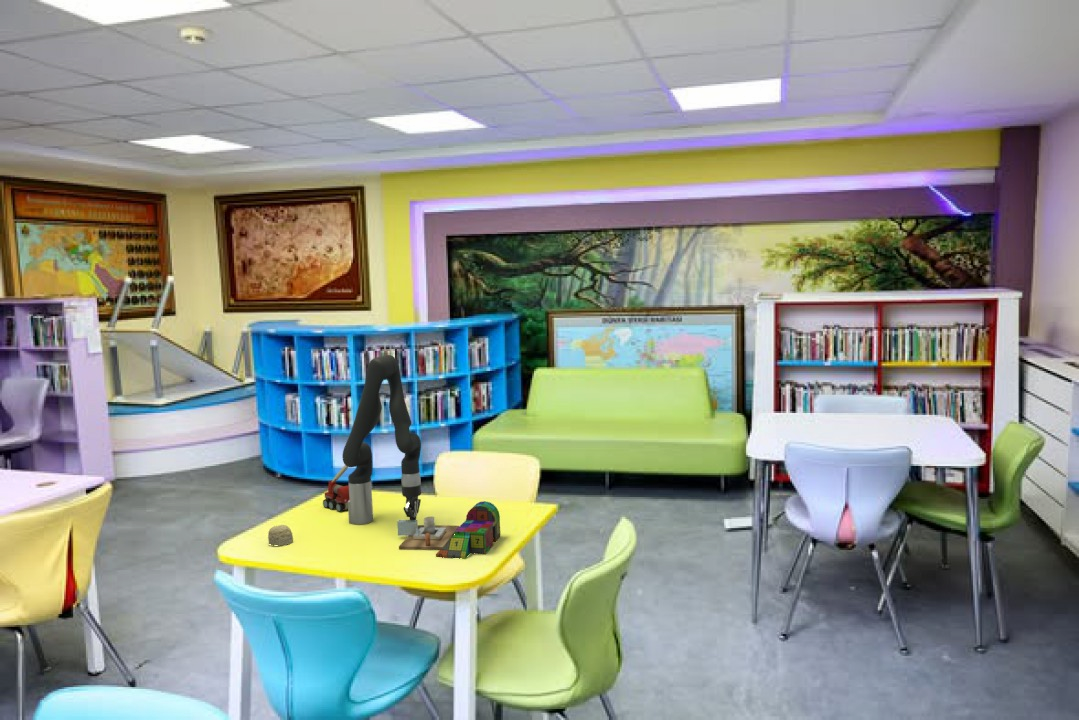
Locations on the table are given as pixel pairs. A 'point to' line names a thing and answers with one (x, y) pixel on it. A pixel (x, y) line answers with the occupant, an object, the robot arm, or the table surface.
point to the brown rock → (280, 535)
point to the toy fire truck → (337, 494)
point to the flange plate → (416, 530)
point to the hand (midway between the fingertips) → (413, 525)
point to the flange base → (433, 543)
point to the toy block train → (474, 533)
